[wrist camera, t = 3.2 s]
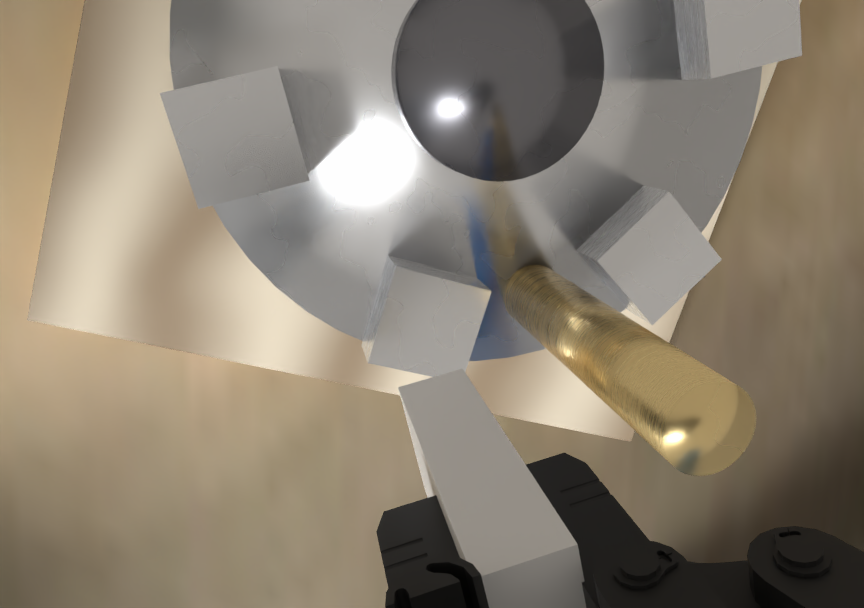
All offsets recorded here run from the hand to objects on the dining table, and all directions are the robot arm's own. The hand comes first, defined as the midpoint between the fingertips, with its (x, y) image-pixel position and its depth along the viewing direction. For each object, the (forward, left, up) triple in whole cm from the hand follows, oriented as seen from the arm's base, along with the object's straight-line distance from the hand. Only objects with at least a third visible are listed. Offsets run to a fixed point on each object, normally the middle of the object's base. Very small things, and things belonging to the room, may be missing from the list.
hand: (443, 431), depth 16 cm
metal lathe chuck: (+1, +8, -11) cm, 14 cm away
